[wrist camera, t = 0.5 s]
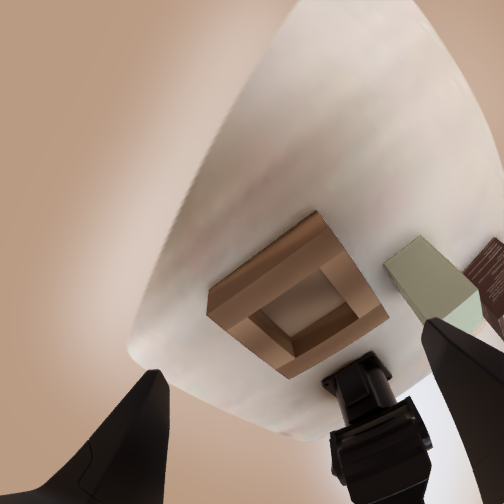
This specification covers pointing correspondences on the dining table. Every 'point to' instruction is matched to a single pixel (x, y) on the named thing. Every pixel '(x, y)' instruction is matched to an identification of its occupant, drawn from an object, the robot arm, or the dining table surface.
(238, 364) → the dining table surface
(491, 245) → the box
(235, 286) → the socket block
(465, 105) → the dining table surface
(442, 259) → the peg
